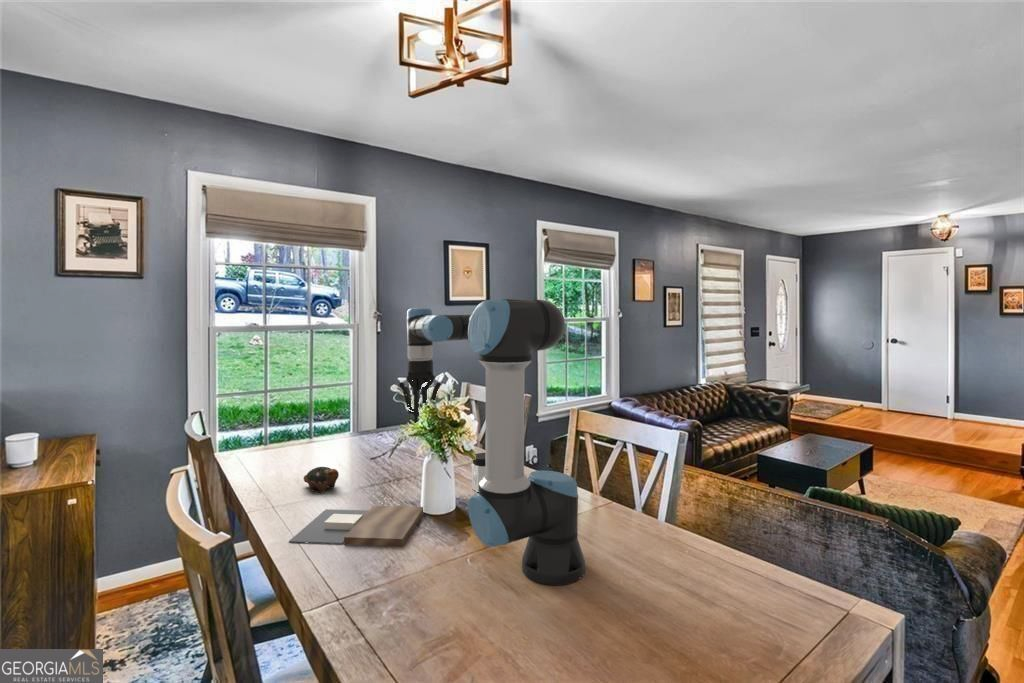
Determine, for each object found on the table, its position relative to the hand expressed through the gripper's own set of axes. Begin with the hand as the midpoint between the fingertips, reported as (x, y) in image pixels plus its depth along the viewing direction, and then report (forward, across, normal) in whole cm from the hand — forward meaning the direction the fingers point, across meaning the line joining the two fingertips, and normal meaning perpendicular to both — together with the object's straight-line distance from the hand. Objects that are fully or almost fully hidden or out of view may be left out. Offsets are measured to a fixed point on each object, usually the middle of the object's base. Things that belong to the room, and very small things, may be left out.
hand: (421, 436), depth 151 cm
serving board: (+24, +8, +10) cm, 28 cm away
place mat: (+24, +24, +10) cm, 36 cm away
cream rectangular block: (+24, +21, +10) cm, 33 cm away
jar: (+25, -16, -23) cm, 37 cm away
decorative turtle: (+25, +42, -20) cm, 53 cm away
